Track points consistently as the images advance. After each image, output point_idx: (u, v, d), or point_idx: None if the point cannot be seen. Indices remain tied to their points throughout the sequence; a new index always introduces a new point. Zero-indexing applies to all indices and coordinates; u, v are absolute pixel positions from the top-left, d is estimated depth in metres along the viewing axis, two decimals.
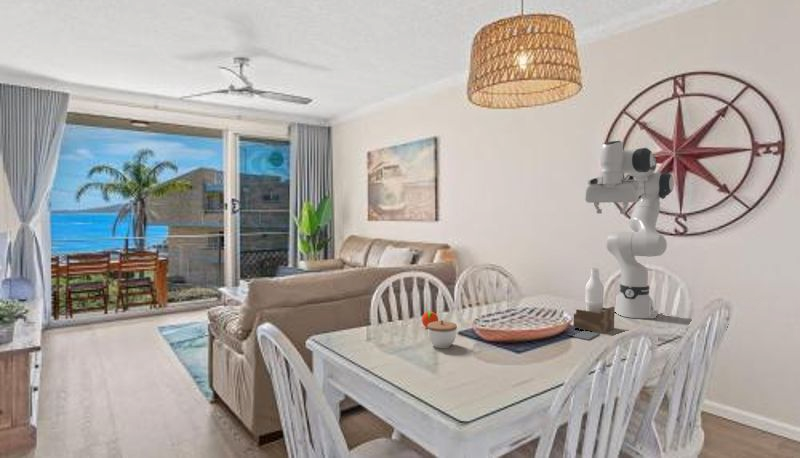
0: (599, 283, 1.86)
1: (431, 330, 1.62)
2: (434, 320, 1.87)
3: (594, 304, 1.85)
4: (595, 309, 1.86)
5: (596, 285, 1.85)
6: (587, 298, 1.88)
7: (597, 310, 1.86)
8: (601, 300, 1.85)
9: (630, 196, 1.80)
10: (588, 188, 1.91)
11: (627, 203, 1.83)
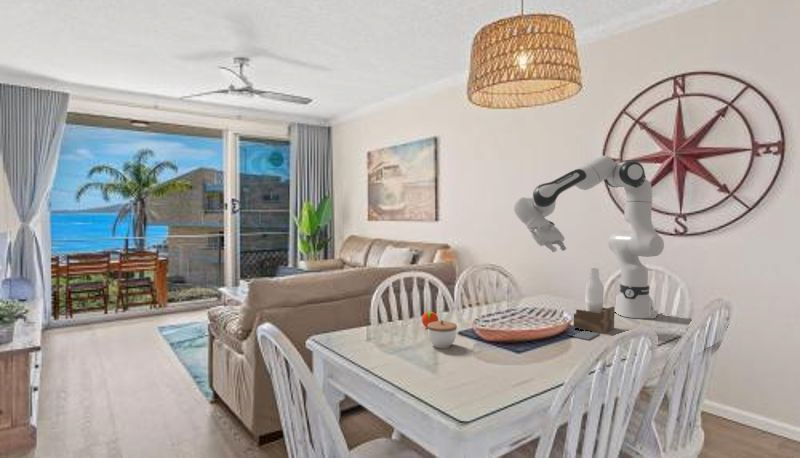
0: (599, 283, 1.86)
1: (431, 330, 1.62)
2: (434, 320, 1.87)
3: (594, 304, 1.85)
4: (595, 309, 1.86)
5: (596, 285, 1.85)
6: (587, 298, 1.88)
7: (597, 310, 1.86)
8: (601, 300, 1.85)
9: None
10: None
11: (546, 244, 1.95)
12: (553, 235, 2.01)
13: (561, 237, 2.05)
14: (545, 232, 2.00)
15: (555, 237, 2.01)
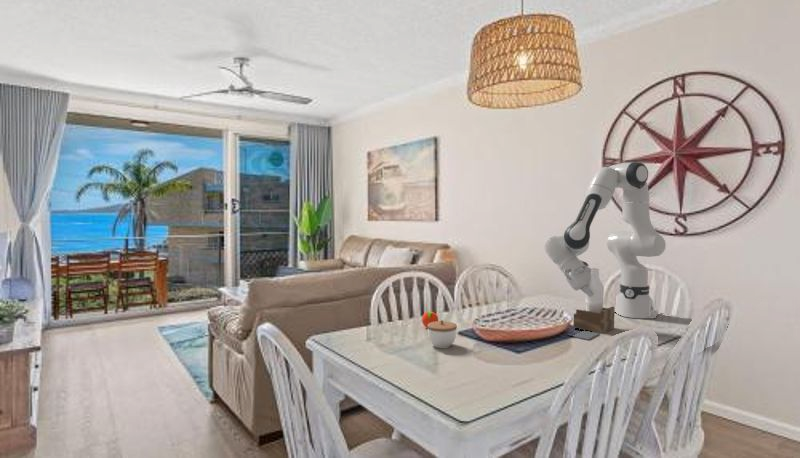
0: (599, 283, 1.86)
1: (431, 330, 1.62)
2: (434, 320, 1.87)
3: (594, 304, 1.85)
4: (595, 309, 1.86)
5: (596, 285, 1.85)
6: (587, 298, 1.88)
7: (597, 310, 1.86)
8: (601, 300, 1.85)
9: None
10: None
11: (582, 288, 1.85)
12: (588, 278, 1.91)
13: None
14: (580, 275, 1.89)
15: None
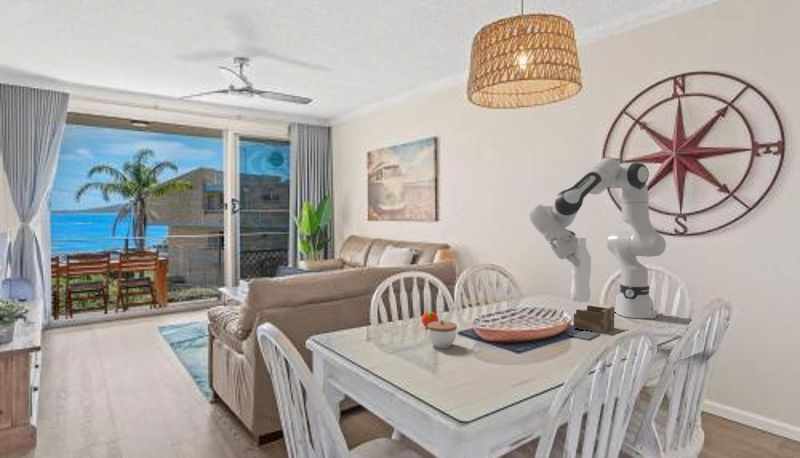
0: (586, 253, 1.75)
1: (431, 330, 1.62)
2: (434, 320, 1.87)
3: (580, 275, 1.75)
4: (582, 280, 1.76)
5: (583, 255, 1.75)
6: (573, 269, 1.78)
7: (584, 281, 1.76)
8: (588, 271, 1.75)
9: None
10: None
11: (568, 257, 1.75)
12: (575, 247, 1.81)
13: None
14: (566, 244, 1.79)
15: None
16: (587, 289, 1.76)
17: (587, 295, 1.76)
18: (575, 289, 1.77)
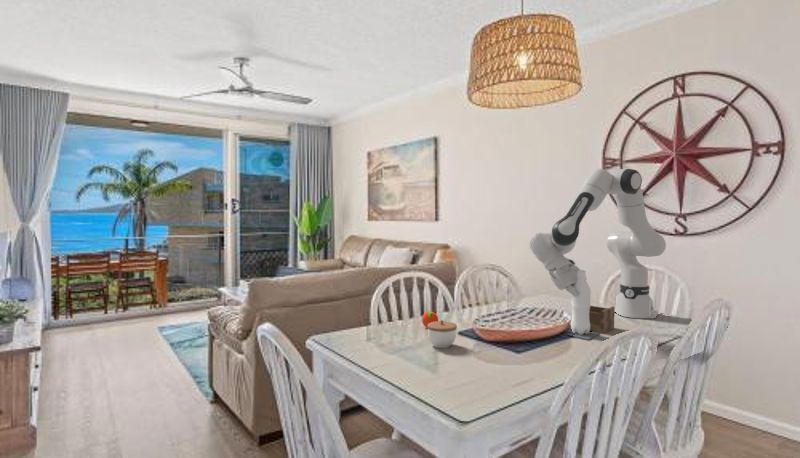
0: (586, 286, 1.76)
1: (431, 330, 1.62)
2: (434, 320, 1.87)
3: (580, 308, 1.76)
4: (582, 313, 1.77)
5: (582, 288, 1.76)
6: (573, 302, 1.79)
7: (584, 314, 1.77)
8: (588, 303, 1.76)
9: None
10: None
11: (567, 288, 1.76)
12: (575, 277, 1.81)
13: None
14: (565, 273, 1.80)
15: (576, 279, 1.81)
16: (587, 321, 1.77)
17: (587, 328, 1.77)
18: (575, 321, 1.78)
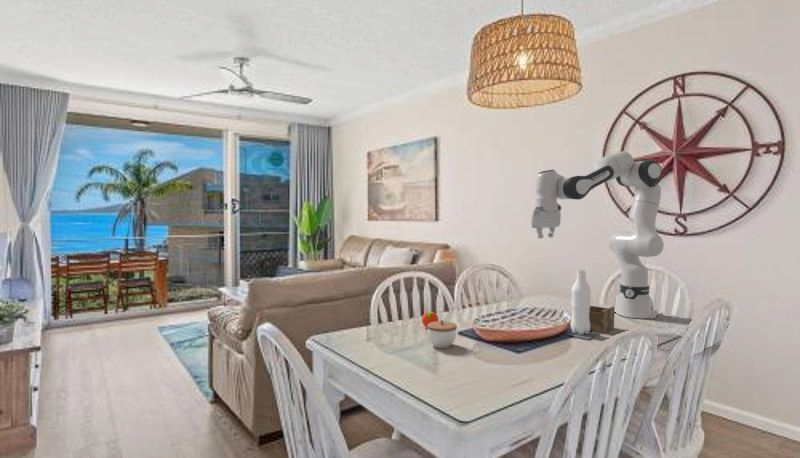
0: (586, 286, 1.76)
1: (431, 330, 1.62)
2: (434, 320, 1.87)
3: (580, 308, 1.76)
4: (582, 313, 1.77)
5: (582, 288, 1.76)
6: (573, 302, 1.79)
7: (584, 314, 1.77)
8: (588, 303, 1.76)
9: None
10: None
11: (538, 229, 1.96)
12: (551, 222, 2.00)
13: (557, 224, 2.04)
14: (546, 216, 1.97)
15: (551, 224, 2.00)
16: (587, 321, 1.77)
17: (587, 328, 1.77)
18: (575, 321, 1.78)
